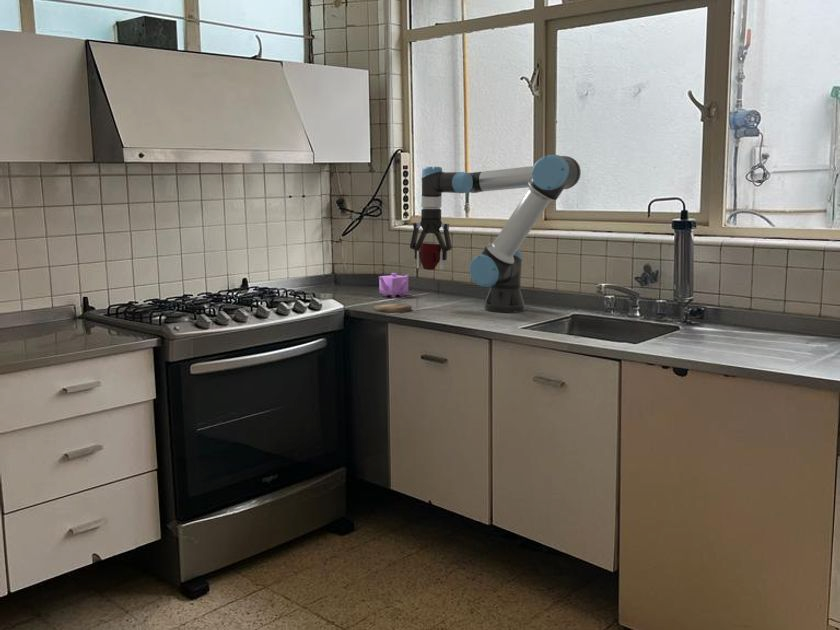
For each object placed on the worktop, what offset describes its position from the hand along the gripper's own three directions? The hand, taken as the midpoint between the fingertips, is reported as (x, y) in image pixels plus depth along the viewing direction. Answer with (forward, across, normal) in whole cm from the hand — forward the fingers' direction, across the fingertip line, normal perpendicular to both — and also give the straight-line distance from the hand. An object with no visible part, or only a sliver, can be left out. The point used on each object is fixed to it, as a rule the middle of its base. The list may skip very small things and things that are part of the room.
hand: (430, 268), depth 327 cm
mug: (+1, 0, 0) cm, 1 cm away
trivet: (+15, +11, +10) cm, 21 cm away
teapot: (+15, +25, -25) cm, 39 cm away
